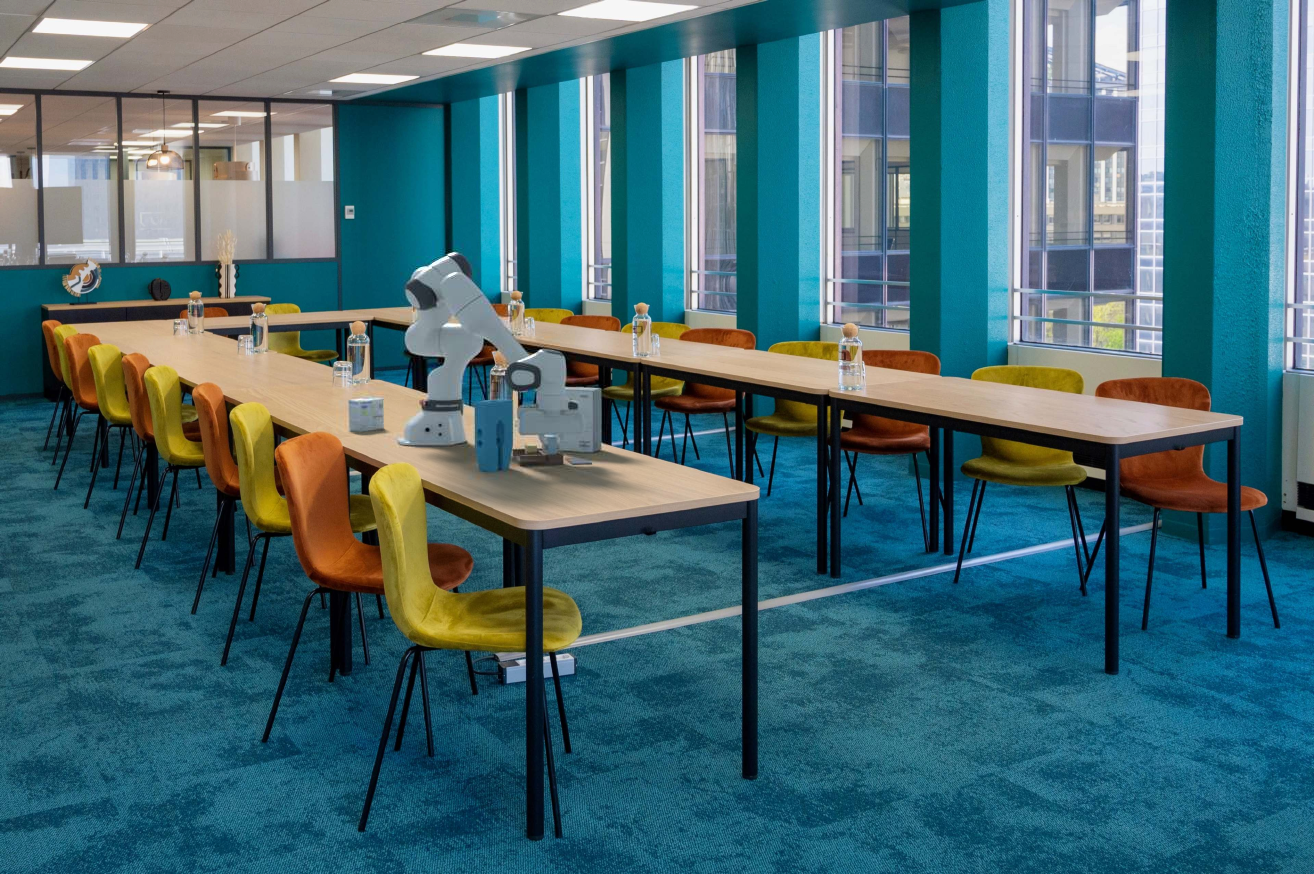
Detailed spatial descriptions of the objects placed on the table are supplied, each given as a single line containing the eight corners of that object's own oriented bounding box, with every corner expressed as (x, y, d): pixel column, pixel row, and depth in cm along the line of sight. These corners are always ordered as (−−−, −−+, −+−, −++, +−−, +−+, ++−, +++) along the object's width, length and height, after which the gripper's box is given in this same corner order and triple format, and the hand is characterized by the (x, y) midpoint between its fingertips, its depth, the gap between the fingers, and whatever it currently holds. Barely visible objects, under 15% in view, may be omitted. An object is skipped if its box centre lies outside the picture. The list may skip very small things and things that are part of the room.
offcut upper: (527, 451, 378) (527, 445, 378) (524, 449, 382) (524, 443, 382) (537, 451, 379) (537, 445, 379) (534, 449, 383) (534, 443, 383)
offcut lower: (527, 457, 378) (527, 451, 378) (524, 455, 382) (524, 449, 382) (537, 457, 379) (537, 451, 379) (534, 455, 383) (534, 449, 383)
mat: (572, 464, 375) (572, 463, 375) (564, 459, 384) (564, 457, 384) (591, 464, 376) (591, 462, 376) (583, 458, 386) (583, 457, 386)
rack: (512, 458, 383) (512, 448, 383) (554, 457, 387) (554, 447, 387) (520, 466, 371) (520, 456, 371) (563, 464, 375) (563, 454, 374)
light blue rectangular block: (548, 459, 375) (548, 438, 374) (542, 454, 384) (542, 433, 383) (556, 459, 376) (556, 438, 375) (550, 454, 385) (550, 433, 384)
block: (501, 465, 371) (501, 398, 368) (514, 467, 369) (514, 400, 366) (473, 470, 362) (473, 402, 359) (486, 472, 359) (485, 403, 356)
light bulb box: (371, 426, 444) (371, 396, 442) (384, 428, 440) (384, 398, 438) (348, 430, 435) (347, 399, 434) (361, 432, 431) (360, 401, 430)
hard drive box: (602, 449, 403) (602, 388, 400) (593, 453, 395) (593, 390, 392) (557, 446, 408) (558, 385, 405) (548, 450, 400) (548, 388, 397)
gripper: (519, 405, 369) (519, 451, 371) (586, 404, 375) (586, 449, 377) (515, 402, 375) (515, 448, 377) (581, 401, 381) (581, 446, 383)
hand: (551, 449), depth 377 cm, fingers closed on light blue rectangular block, 3 cm apart
